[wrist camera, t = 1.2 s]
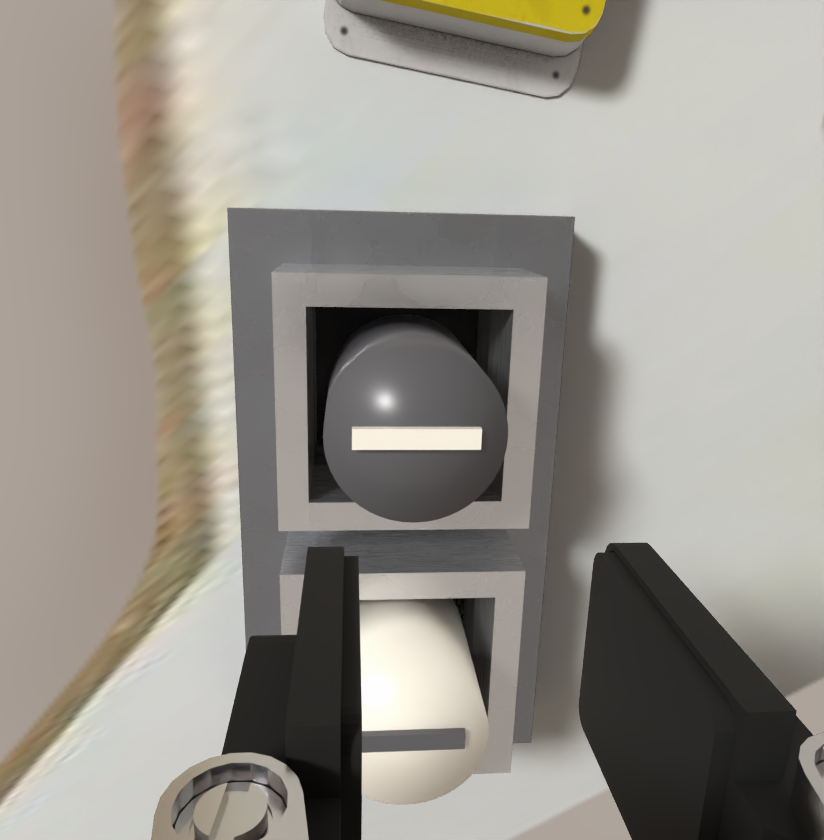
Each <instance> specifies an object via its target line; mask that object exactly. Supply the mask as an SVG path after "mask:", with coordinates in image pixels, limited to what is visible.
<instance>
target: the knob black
mask: <svg viewBox="0 0 824 840" xmlns="http://www.w3.org/2000/svg"><path fill="white" fill-rule="evenodd" d="M507 442H508V421H507V414H506V411H505V407H504V404H503V401H502V399H501V397H500V394H499V392H498V390H497V389H496V387H495V386H494V384H493V382H492V381H491V380H490V379H489V377H488V376H487V375H486V374H485V372H484V371H483V370H482V369H481V367H480V366H479V365H478V364H477V363H476V361H475V360H474V359H473V358H472V356H471V355H470V354H469V353H468V351H467V350H466V349H465V348H464V346H463V345H462V344H461V343H460V342H459V340H458V339H457V338H456V337H455V336H454V335H453V334H452V333H451V332H450V331H449V330H448V329H446V328H445V327H443V326H442V325H441V324H439V323H437V322H435V321H433V320H430V319H428V318H425V317H421V316H417V315H410V314H395V315H389V316H384V317H381V318H378V319H375V320H373V321H371V322H368V323H366V324H365V325H363V326H362V327H360V328H359V329H357V330H356V331H355V332H354V333H353V334H351V335H350V336H349V338H348V339H347V340H346V341H345V342H344V343H343V345H342V346H341V348H340V349H339V351H338V353H337V355H336V357H335V359H334V362H333V365H332V368H331V373H330V378H329V386H328V394H327V402H326V410H325V418H324V428H323V444H324V452H325V456H326V460H327V463H328V466H329V469H330V471H331V473H332V475H333V477H334V479H335V480H336V482H337V483H338V485H339V486H340V487H341V489H342V490H343V491H344V492H345V493H346V494H347V496H348V497H349V498H350V499H352V500H353V501H354V502H355V503H356V504H358V505H359V506H360V507H362V508H364V509H365V510H367V511H369V512H371V513H373V514H375V515H377V516H380V517H383V518H386V519H389V520H394V521H399V522H411V523H416V522H427V521H433V520H438V519H441V518H444V517H447V516H450V515H452V514H454V513H456V512H458V511H460V510H462V509H463V508H465V507H467V506H468V505H470V504H471V503H472V502H473V501H475V500H476V499H477V498H478V497H479V496H480V495H481V494H482V493H483V492H484V491H485V490H486V489H487V488H488V487H489V485H490V484H491V483H492V481H493V480H494V478H495V476H496V475H497V473H498V471H499V469H500V467H501V465H502V462H503V460H504V456H505V452H506V449H507Z"/></svg>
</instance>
